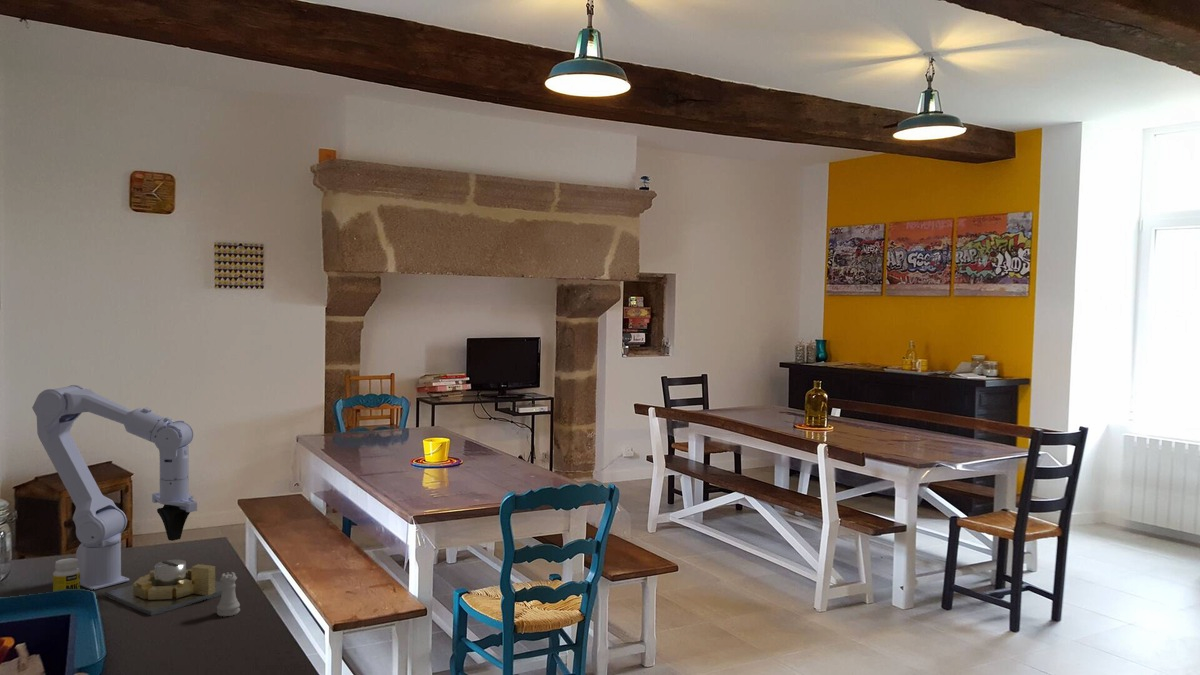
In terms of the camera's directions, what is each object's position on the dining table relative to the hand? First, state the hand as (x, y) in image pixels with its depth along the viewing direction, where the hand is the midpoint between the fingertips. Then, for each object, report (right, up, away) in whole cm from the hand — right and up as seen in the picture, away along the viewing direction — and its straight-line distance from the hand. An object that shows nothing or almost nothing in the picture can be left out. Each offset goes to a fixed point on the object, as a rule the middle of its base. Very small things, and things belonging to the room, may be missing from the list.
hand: (174, 539), depth 191 cm
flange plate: (+2, -10, -6) cm, 12 cm away
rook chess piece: (+19, -11, -16) cm, 27 cm away
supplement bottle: (-17, -10, -11) cm, 23 cm away
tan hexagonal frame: (+3, -9, -7) cm, 12 cm away
